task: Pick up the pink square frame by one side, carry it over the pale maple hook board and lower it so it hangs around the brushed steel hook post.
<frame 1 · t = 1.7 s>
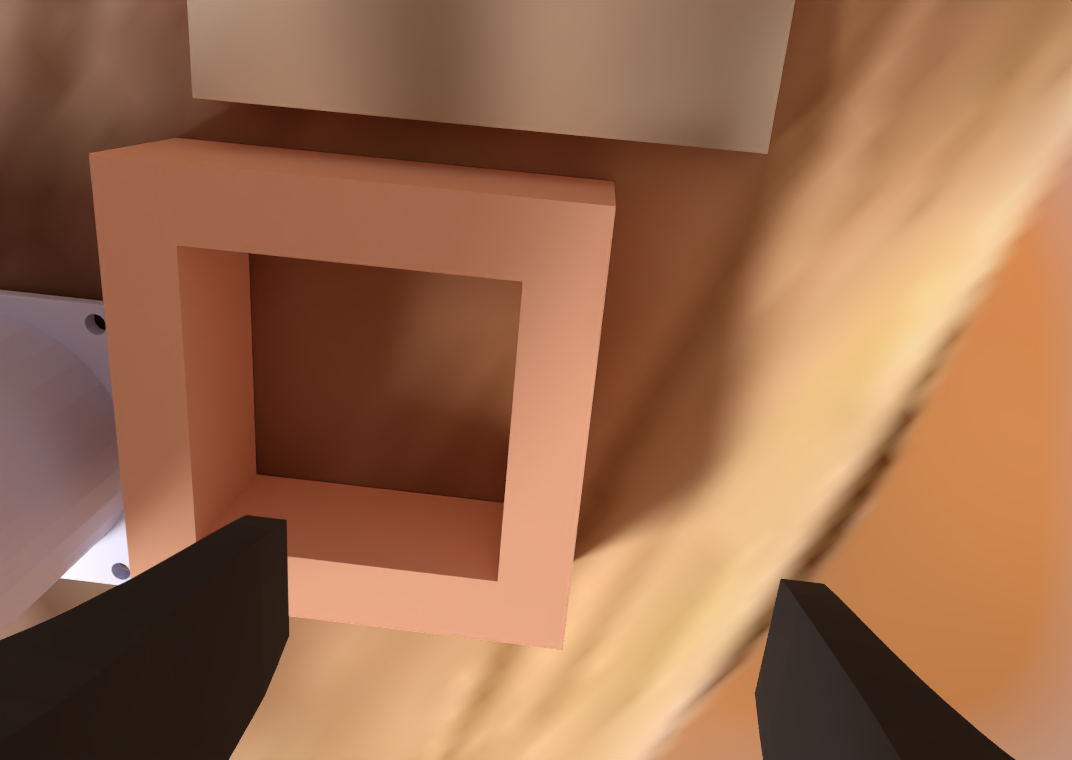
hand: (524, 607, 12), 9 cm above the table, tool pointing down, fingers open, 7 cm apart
pink square frame: (387, 366, 21), on the table
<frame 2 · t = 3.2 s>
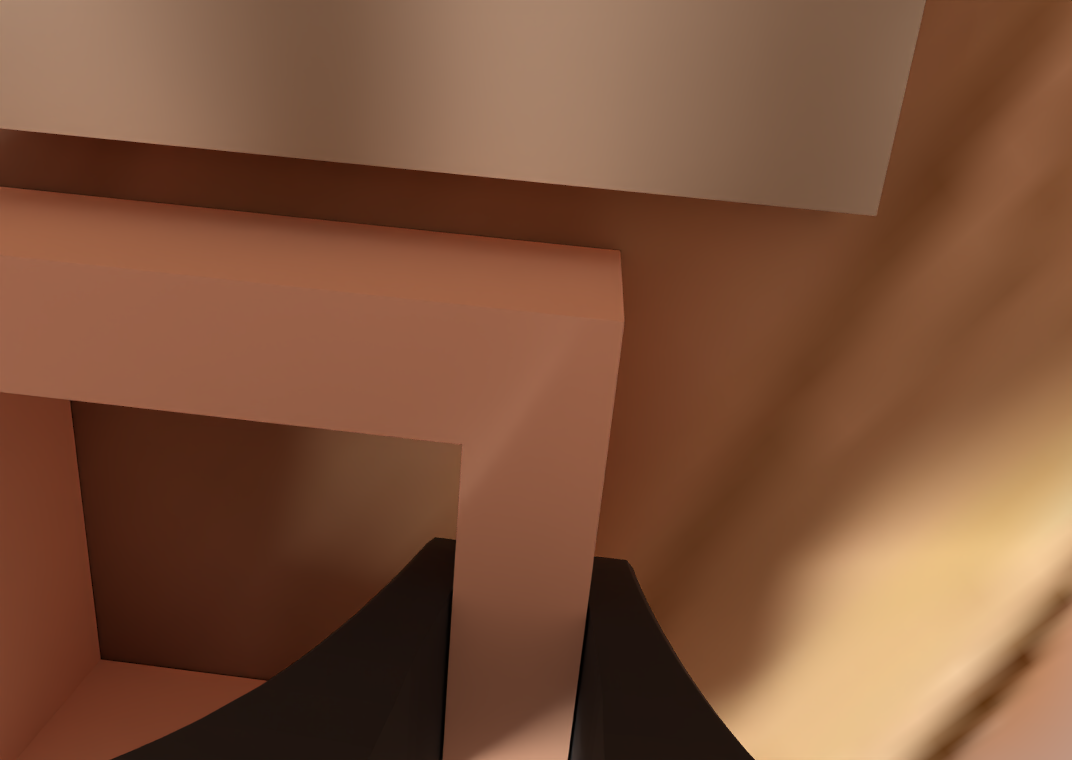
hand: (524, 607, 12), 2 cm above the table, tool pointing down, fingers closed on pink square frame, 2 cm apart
pink square frame: (280, 517, 14), on the table, touching gripper
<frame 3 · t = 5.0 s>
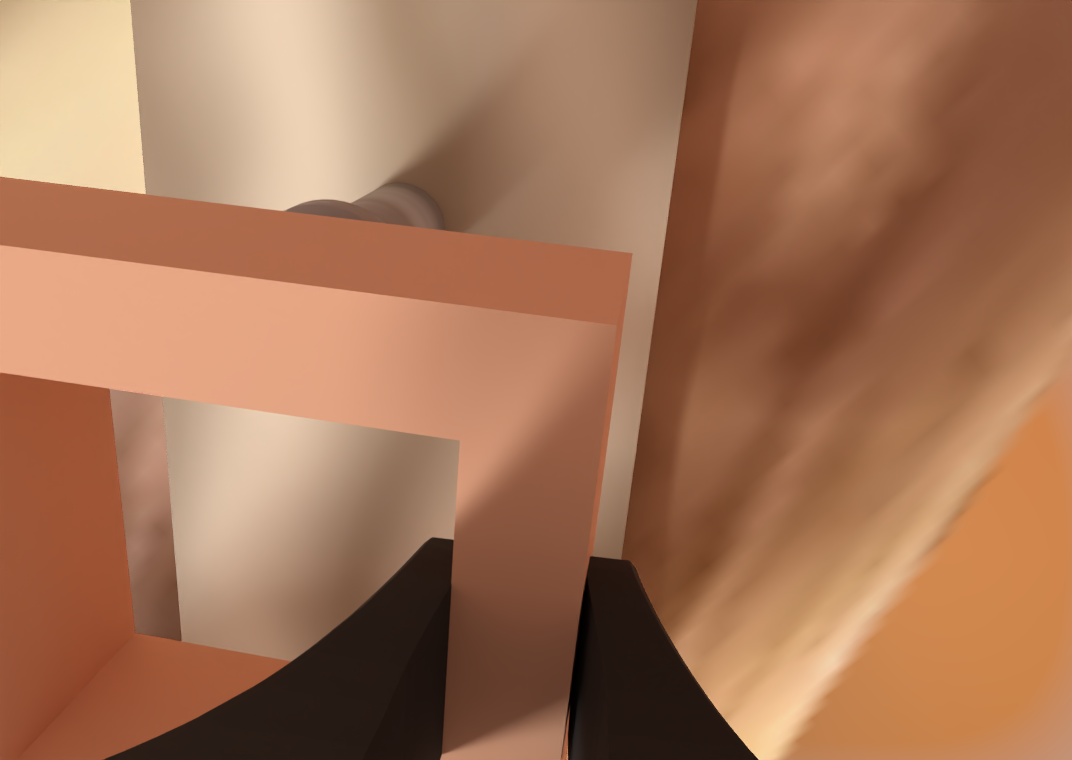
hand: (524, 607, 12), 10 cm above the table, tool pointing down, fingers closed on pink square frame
hook board: (408, 354, 22), on the table
pink square frame: (303, 504, 15), point 8 cm above the table, touching gripper
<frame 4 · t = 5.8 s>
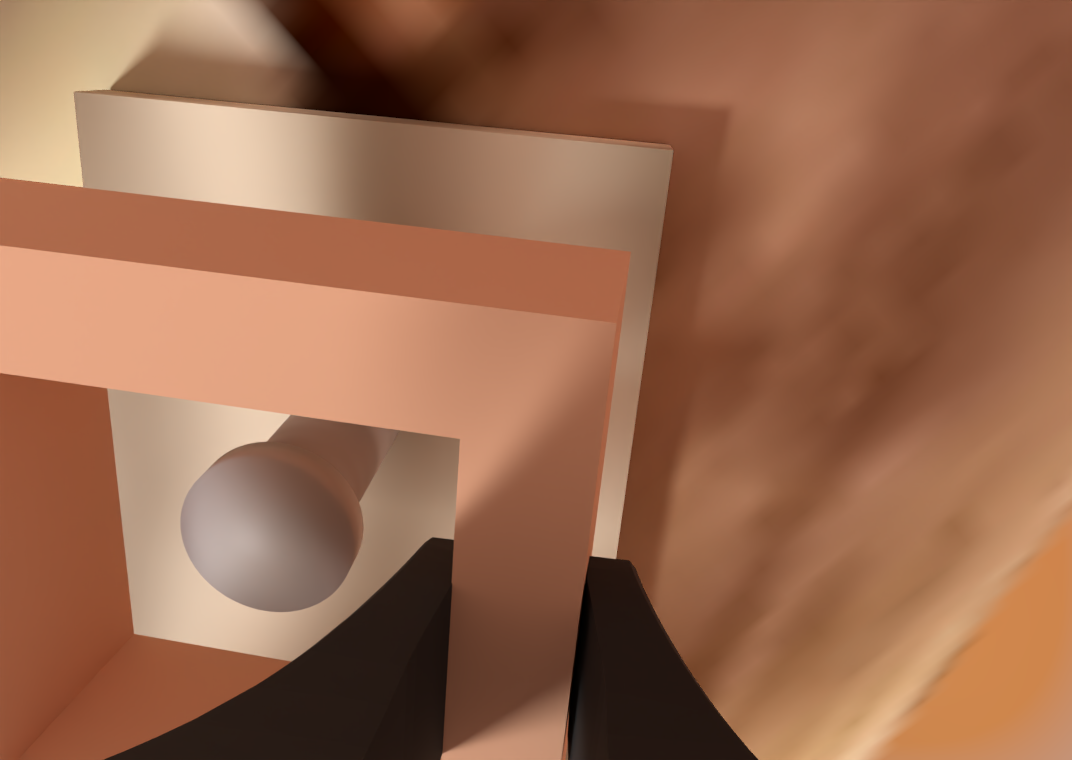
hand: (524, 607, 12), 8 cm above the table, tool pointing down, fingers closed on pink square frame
hook board: (375, 512, 21), on the table
pink square frame: (302, 504, 15), point 6 cm above the table, touching gripper
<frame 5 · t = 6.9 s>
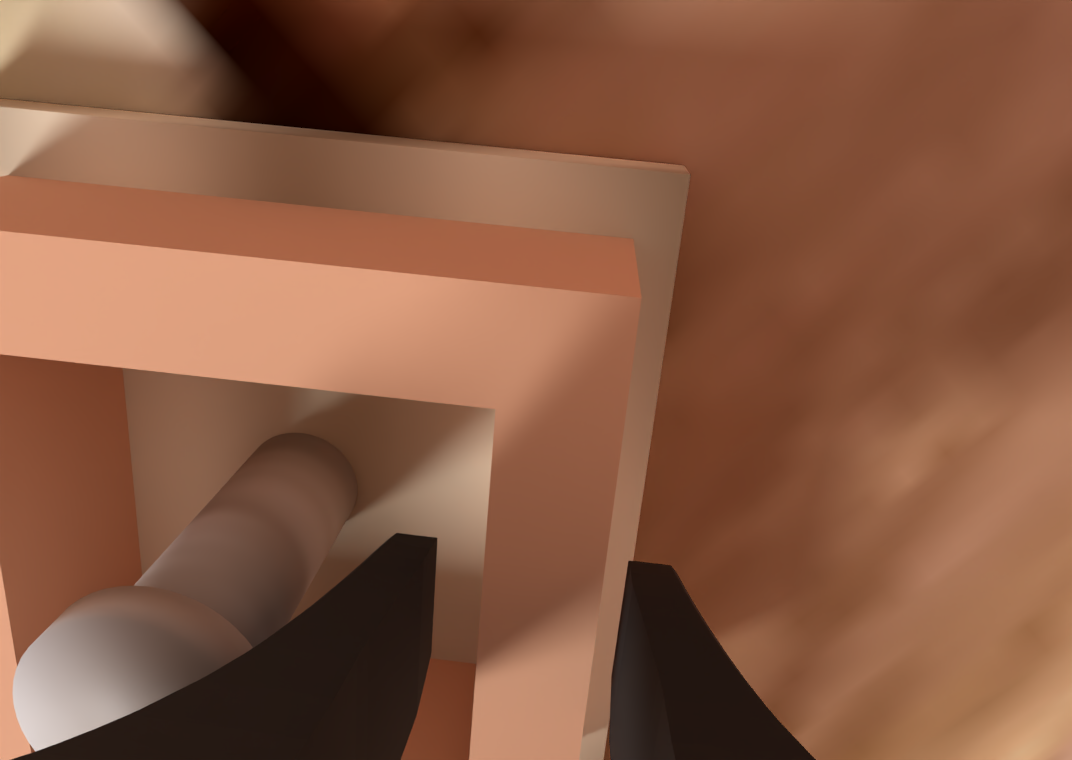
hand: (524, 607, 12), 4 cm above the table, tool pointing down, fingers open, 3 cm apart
hook board: (323, 607, 17), on the table
pink square frame: (317, 488, 15), point 1 cm above the table, touching hook board
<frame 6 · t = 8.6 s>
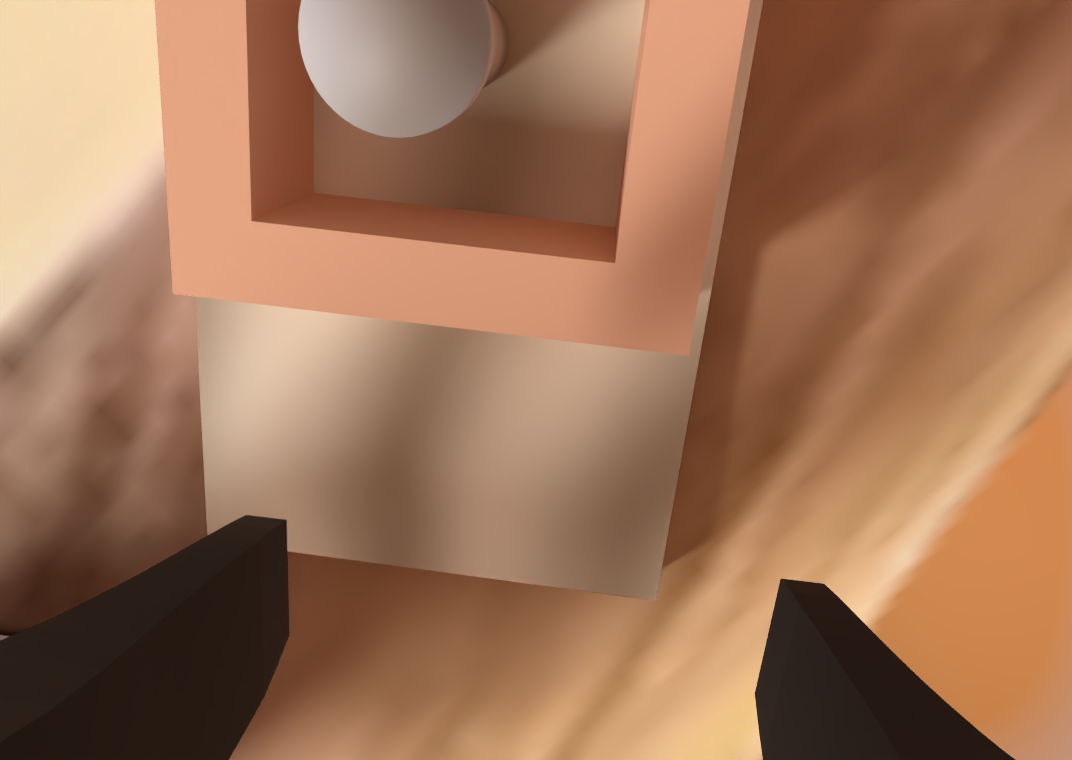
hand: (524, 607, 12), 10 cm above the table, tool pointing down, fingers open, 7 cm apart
hook board: (459, 201, 20), on the table
pink square frame: (473, 46, 18), point 1 cm above the table, touching hook board
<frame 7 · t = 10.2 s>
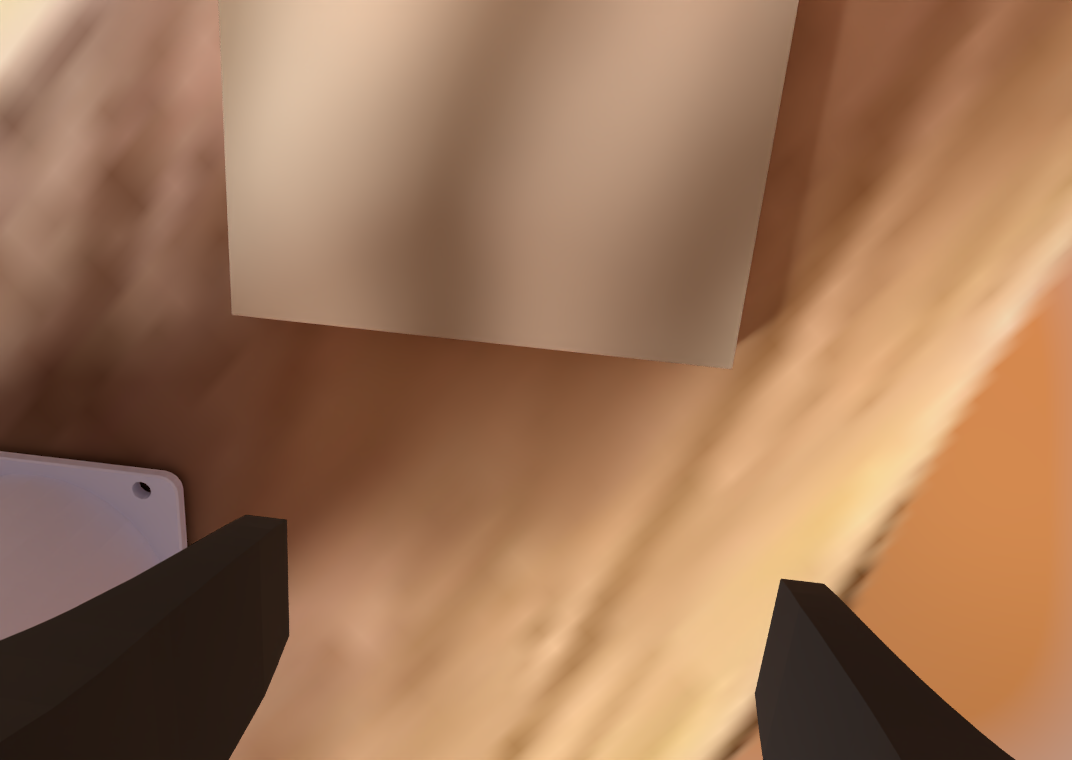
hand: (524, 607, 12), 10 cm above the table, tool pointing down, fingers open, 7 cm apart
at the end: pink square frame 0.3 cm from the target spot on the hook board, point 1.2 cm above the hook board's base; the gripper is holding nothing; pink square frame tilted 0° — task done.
